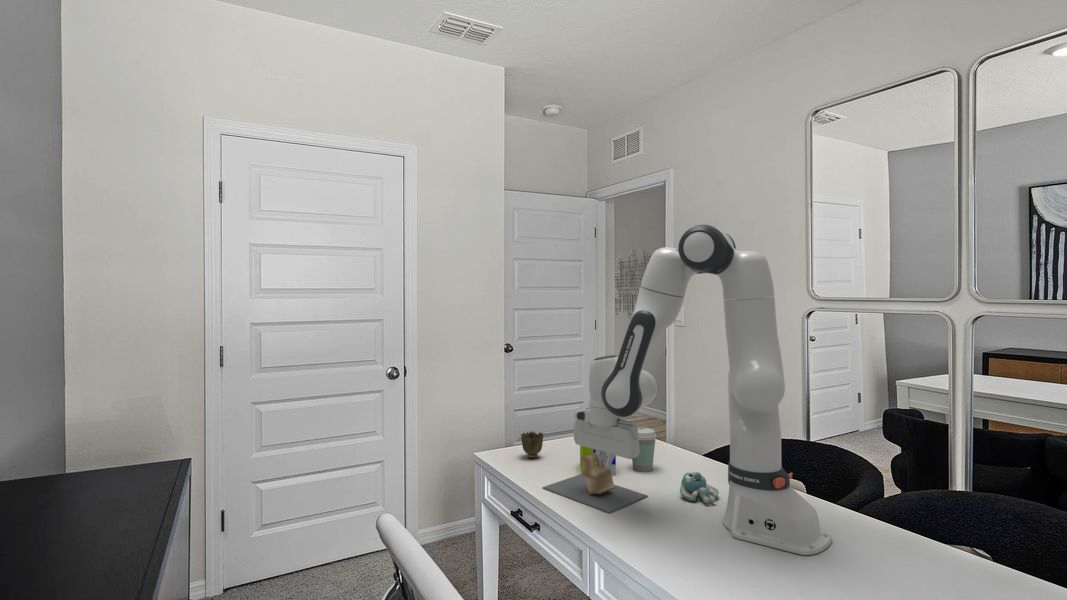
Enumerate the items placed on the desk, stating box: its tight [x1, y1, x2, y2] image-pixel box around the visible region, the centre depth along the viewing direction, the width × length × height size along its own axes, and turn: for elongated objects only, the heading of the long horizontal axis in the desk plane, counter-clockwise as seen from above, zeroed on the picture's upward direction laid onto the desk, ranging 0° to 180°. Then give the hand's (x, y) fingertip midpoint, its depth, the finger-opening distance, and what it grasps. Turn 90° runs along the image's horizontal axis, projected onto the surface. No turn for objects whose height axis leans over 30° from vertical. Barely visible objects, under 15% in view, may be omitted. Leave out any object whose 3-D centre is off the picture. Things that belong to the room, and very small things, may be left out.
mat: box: [542, 473, 649, 515], centre depth 148 cm, size 24×16×1 cm, turn 42°
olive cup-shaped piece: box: [520, 430, 544, 460], centre depth 180 cm, size 8×7×8 cm
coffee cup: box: [631, 426, 657, 473], centre depth 168 cm, size 8×8×12 cm
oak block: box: [581, 452, 615, 495], centre depth 147 cm, size 4×6×10 cm, turn 132°
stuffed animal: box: [679, 471, 720, 504], centre depth 144 cm, size 11×7×12 cm
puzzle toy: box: [579, 445, 617, 476], centre depth 167 cm, size 10×10×10 cm
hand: (605, 467), depth 145 cm, fingers closed
